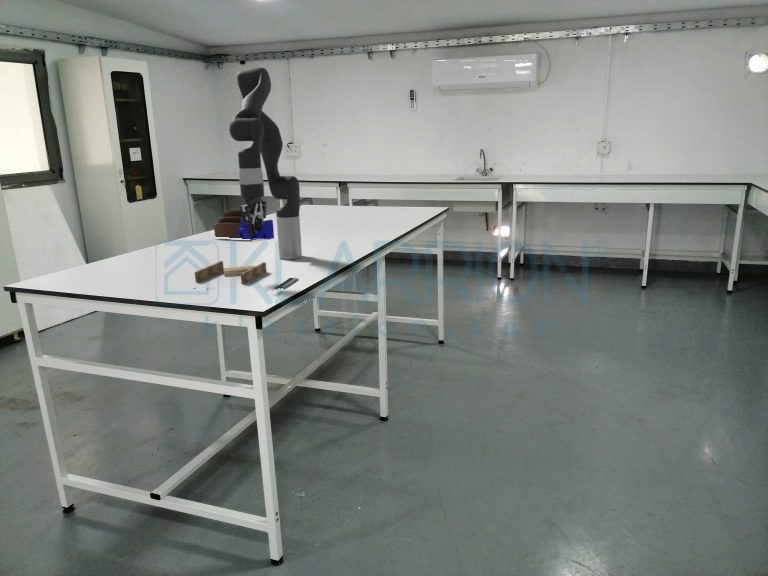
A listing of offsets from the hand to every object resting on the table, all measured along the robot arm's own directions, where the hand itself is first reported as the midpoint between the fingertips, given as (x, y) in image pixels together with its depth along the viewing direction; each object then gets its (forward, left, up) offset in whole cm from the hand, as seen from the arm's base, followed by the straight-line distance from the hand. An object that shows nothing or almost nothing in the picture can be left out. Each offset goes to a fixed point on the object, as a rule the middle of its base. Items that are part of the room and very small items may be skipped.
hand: (256, 233), depth 185 cm
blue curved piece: (0, 0, -2) cm, 2 cm away
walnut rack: (-2, -11, -17) cm, 21 cm away
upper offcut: (-8, -12, -16) cm, 21 cm away
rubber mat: (-1, +6, -17) cm, 18 cm away
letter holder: (-83, -53, -18) cm, 100 cm away
